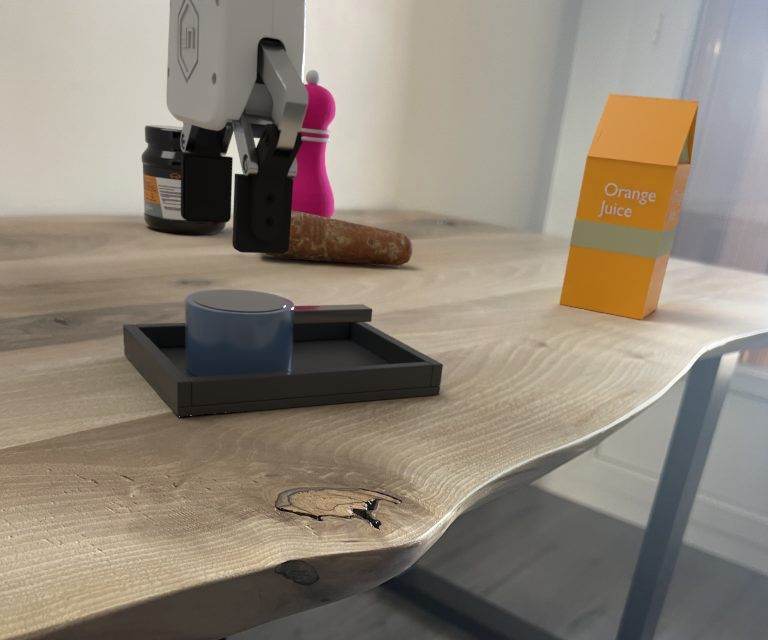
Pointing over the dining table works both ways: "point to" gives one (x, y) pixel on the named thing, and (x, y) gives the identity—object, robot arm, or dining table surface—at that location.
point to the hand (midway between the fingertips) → (231, 235)
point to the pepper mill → (314, 153)
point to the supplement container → (167, 184)
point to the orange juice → (629, 205)
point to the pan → (250, 330)
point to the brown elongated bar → (344, 242)
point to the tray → (286, 388)
